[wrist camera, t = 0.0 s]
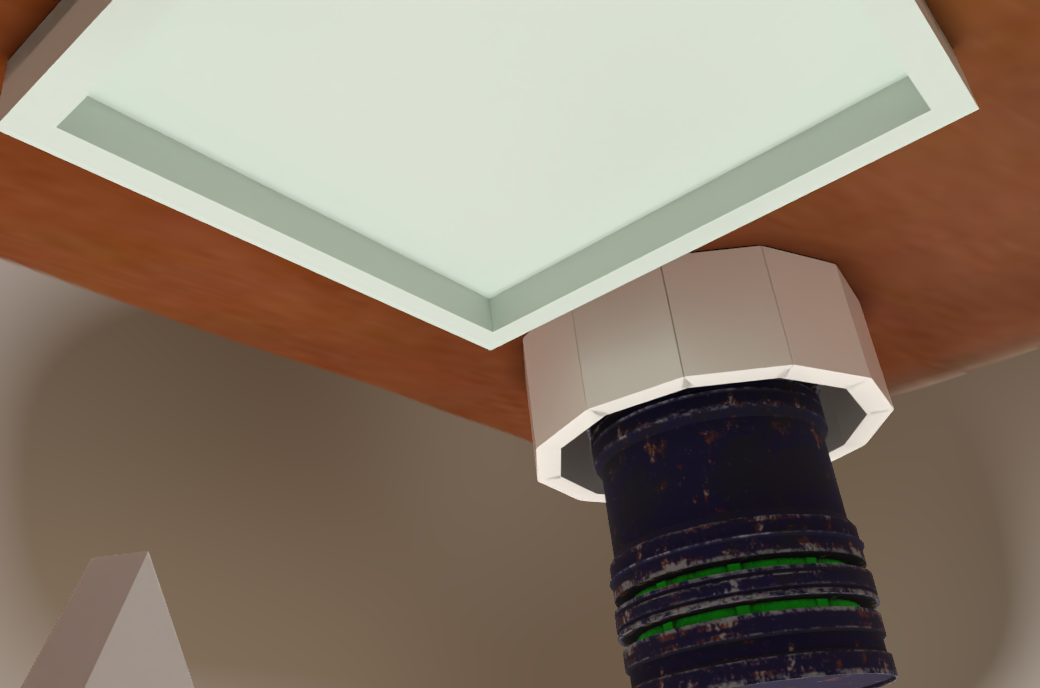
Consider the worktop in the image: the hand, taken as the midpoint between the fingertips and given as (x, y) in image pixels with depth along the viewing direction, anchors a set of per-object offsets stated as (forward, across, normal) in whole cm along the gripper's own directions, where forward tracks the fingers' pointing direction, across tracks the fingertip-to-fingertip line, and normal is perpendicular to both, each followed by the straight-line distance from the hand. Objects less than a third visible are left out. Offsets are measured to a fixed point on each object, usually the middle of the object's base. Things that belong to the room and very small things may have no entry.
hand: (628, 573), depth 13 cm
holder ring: (+26, +7, -10) cm, 29 cm away
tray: (+15, 0, +5) cm, 16 cm away
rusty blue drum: (+26, +7, -10) cm, 29 cm away
